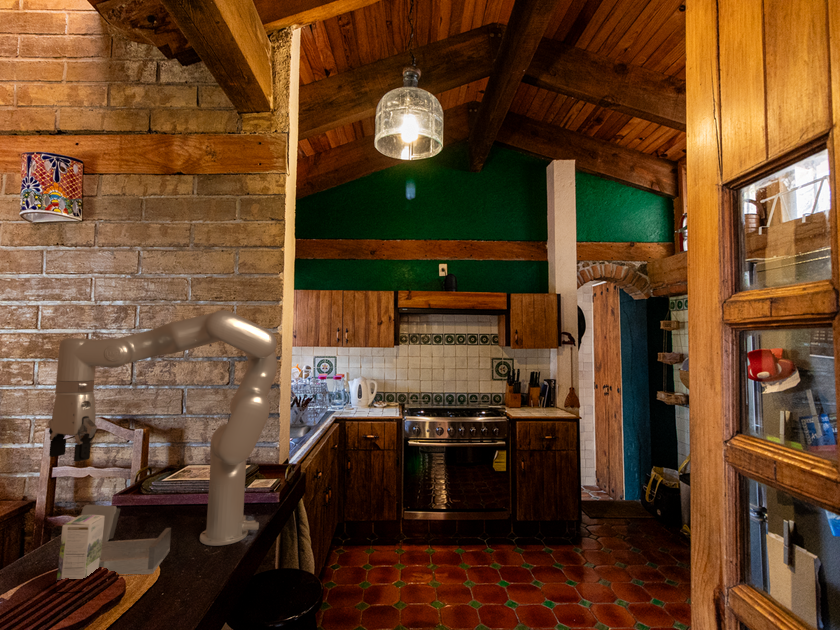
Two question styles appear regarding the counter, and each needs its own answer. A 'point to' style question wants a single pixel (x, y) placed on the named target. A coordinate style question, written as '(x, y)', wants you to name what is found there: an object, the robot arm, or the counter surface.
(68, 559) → the syrup box
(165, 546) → the grey u-shaped piece
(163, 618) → the counter surface
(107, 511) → the electrical switch
